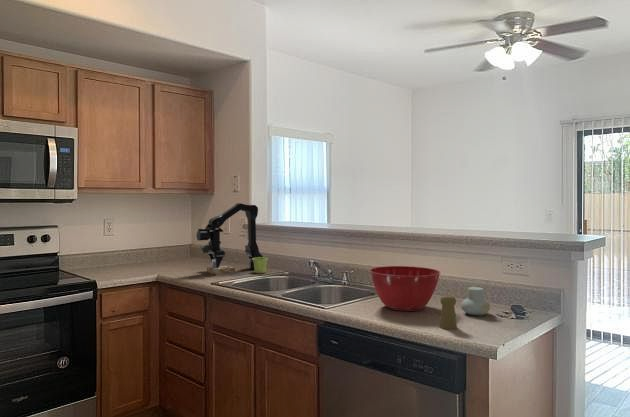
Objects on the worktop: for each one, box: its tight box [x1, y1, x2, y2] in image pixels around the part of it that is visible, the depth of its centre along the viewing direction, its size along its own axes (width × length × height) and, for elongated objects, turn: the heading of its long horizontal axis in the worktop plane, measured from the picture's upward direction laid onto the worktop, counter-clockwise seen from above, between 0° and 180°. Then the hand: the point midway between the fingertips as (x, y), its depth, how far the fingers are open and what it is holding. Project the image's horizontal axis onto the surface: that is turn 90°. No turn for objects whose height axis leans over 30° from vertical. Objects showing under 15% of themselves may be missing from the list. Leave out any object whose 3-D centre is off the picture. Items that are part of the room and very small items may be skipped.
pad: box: [228, 271, 248, 276], centre depth 284 cm, size 9×9×1 cm
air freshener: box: [460, 286, 491, 317], centre depth 191 cm, size 11×8×10 cm
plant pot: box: [252, 256, 269, 274], centre depth 288 cm, size 9×9×9 cm
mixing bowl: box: [369, 265, 441, 312], centre depth 201 cm, size 28×28×15 cm
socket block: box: [206, 265, 236, 275], centre depth 289 cm, size 14×10×3 cm
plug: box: [210, 259, 219, 269], centre depth 287 cm, size 4×4×8 cm
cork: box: [438, 294, 458, 330], centre depth 172 cm, size 6×6×11 cm
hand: (215, 266), depth 287 cm, fingers open, 9 cm apart
